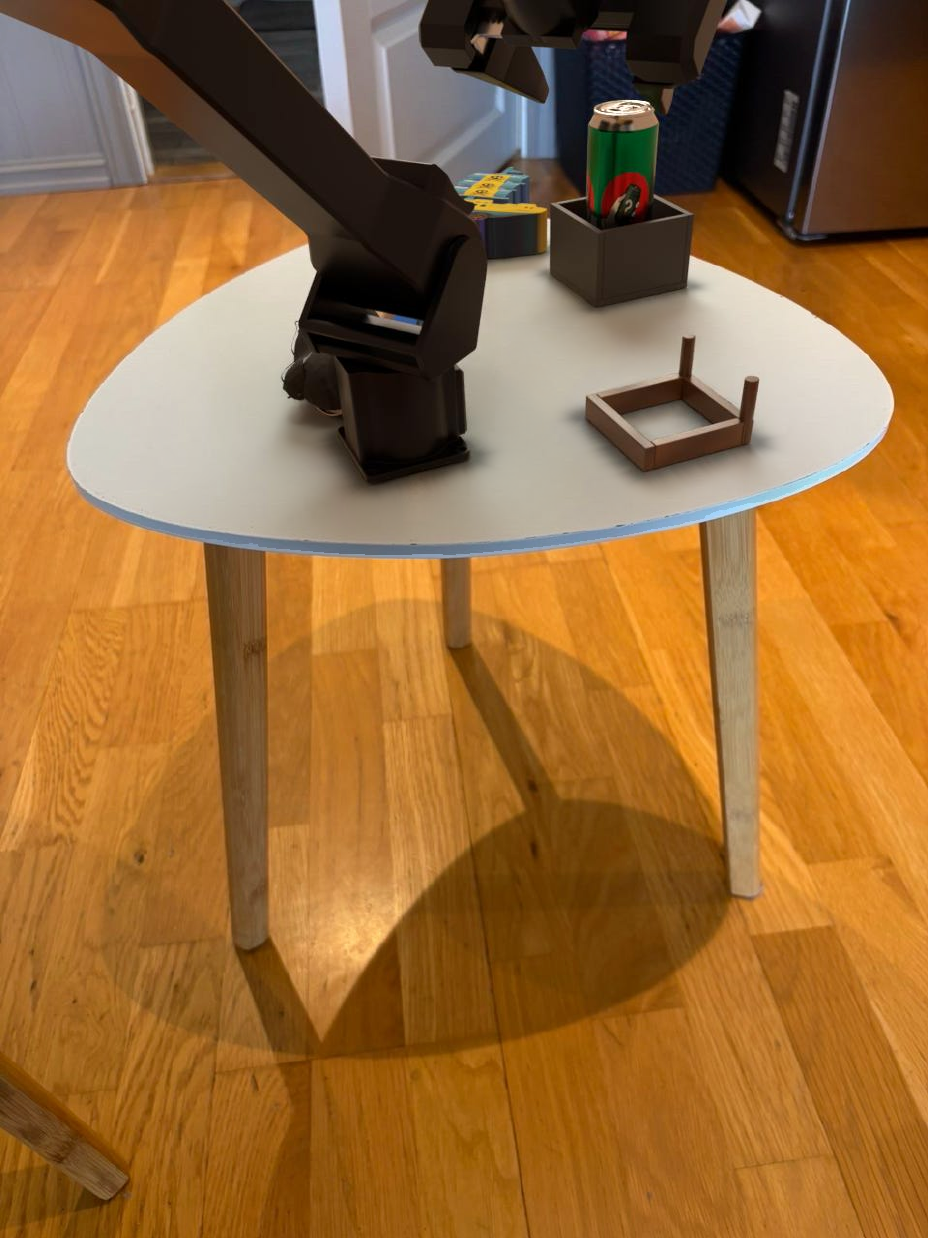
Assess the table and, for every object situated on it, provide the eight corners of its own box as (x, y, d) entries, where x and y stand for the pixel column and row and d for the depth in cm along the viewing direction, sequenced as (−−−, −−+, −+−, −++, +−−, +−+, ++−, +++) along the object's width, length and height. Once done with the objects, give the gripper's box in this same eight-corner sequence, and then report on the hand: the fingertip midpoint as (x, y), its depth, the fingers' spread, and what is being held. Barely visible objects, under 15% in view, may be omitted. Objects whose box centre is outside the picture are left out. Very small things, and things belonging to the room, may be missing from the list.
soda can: (661, 272, 75) (675, 104, 67) (619, 291, 72) (628, 119, 64) (612, 258, 78) (620, 95, 70) (570, 276, 75) (573, 109, 67)
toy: (363, 203, 83) (452, 159, 92) (368, 242, 85) (454, 195, 94) (520, 226, 76) (598, 176, 85) (520, 268, 78) (597, 214, 88)
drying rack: (643, 472, 54) (649, 408, 51) (584, 416, 59) (586, 356, 56) (752, 442, 55) (762, 379, 53) (684, 391, 61) (691, 331, 58)
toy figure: (312, 334, 71) (277, 423, 59) (309, 249, 67) (272, 326, 55) (406, 341, 71) (391, 431, 59) (409, 256, 68) (393, 335, 56)
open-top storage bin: (595, 307, 72) (598, 233, 68) (549, 273, 77) (549, 203, 74) (687, 287, 74) (694, 214, 70) (635, 255, 79) (639, 186, 76)
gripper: (741, -240, 46) (780, -7, 60) (429, -213, 54) (526, -14, 68) (662, -24, 46) (718, 158, 60) (362, -30, 55) (473, 132, 69)
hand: (604, 101), depth 64 cm, fingers open, 9 cm apart
